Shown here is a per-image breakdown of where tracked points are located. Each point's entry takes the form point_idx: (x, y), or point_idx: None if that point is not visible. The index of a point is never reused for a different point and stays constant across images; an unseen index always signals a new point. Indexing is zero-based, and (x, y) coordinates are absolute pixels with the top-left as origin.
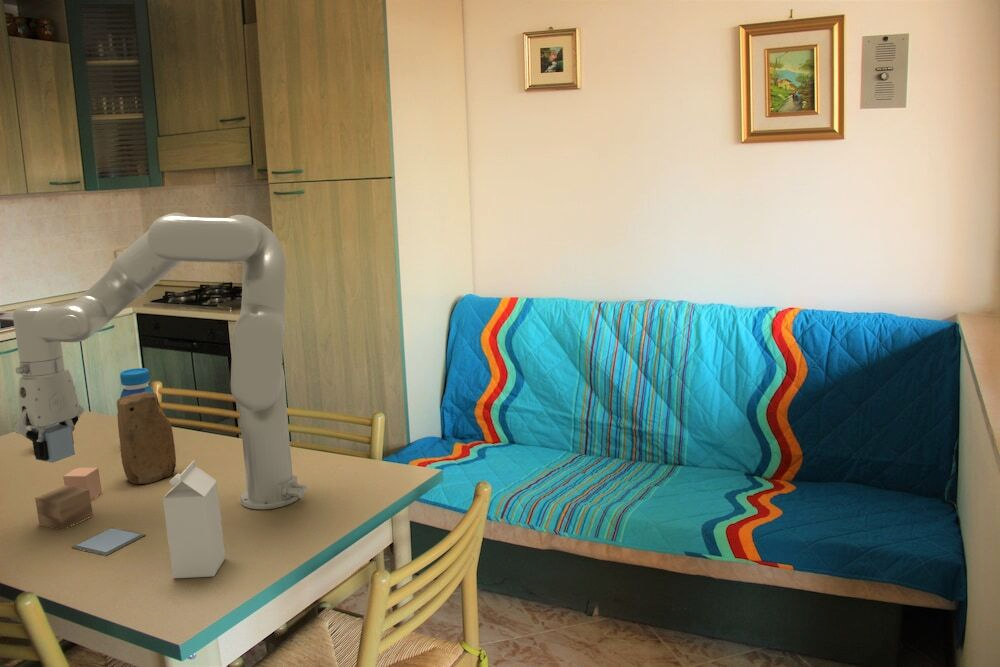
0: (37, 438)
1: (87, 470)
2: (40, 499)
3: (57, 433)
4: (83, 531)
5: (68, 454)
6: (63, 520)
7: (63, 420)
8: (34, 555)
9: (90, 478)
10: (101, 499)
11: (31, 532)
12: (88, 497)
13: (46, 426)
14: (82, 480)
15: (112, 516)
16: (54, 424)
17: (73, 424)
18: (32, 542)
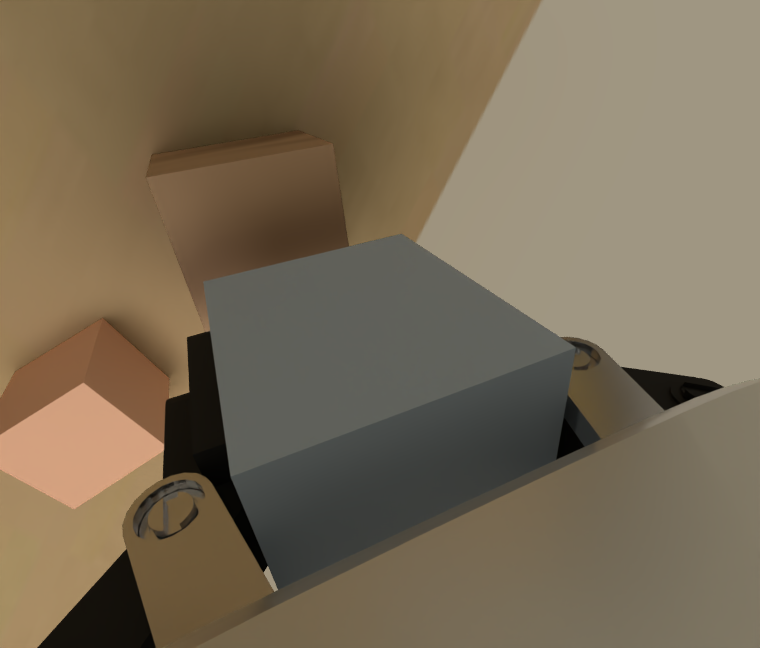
0: (607, 360)
1: (40, 450)
2: None
3: (446, 366)
4: (256, 25)
5: (269, 272)
6: (301, 134)
7: (435, 526)
8: (463, 3)
9: (51, 389)
10: (43, 306)
11: (365, 218)
12: (159, 168)
13: (699, 397)
14: (101, 380)
15: (78, 54)
16: None
17: (136, 567)
18: (406, 130)
